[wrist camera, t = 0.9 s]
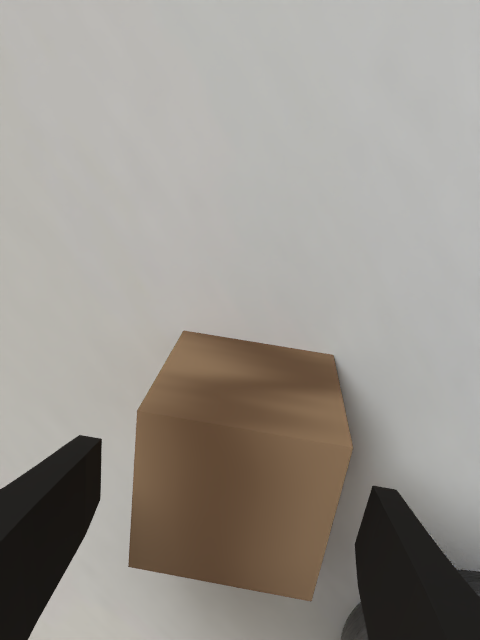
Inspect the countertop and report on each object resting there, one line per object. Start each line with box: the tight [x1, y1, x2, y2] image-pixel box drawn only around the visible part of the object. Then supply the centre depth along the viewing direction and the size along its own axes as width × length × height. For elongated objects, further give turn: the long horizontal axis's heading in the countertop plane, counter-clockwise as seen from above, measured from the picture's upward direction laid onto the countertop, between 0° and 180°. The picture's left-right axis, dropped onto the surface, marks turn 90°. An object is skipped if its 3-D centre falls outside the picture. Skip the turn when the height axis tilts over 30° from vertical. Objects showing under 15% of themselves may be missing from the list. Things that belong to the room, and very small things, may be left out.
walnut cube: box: [128, 331, 353, 601], centre depth 14 cm, size 5×5×5 cm
